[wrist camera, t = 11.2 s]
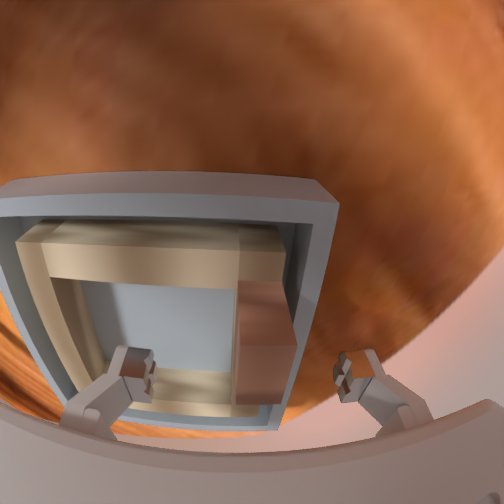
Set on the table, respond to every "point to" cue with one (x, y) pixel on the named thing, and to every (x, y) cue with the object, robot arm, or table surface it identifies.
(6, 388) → the table surface
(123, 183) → the tray
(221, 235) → the ring
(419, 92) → the table surface
